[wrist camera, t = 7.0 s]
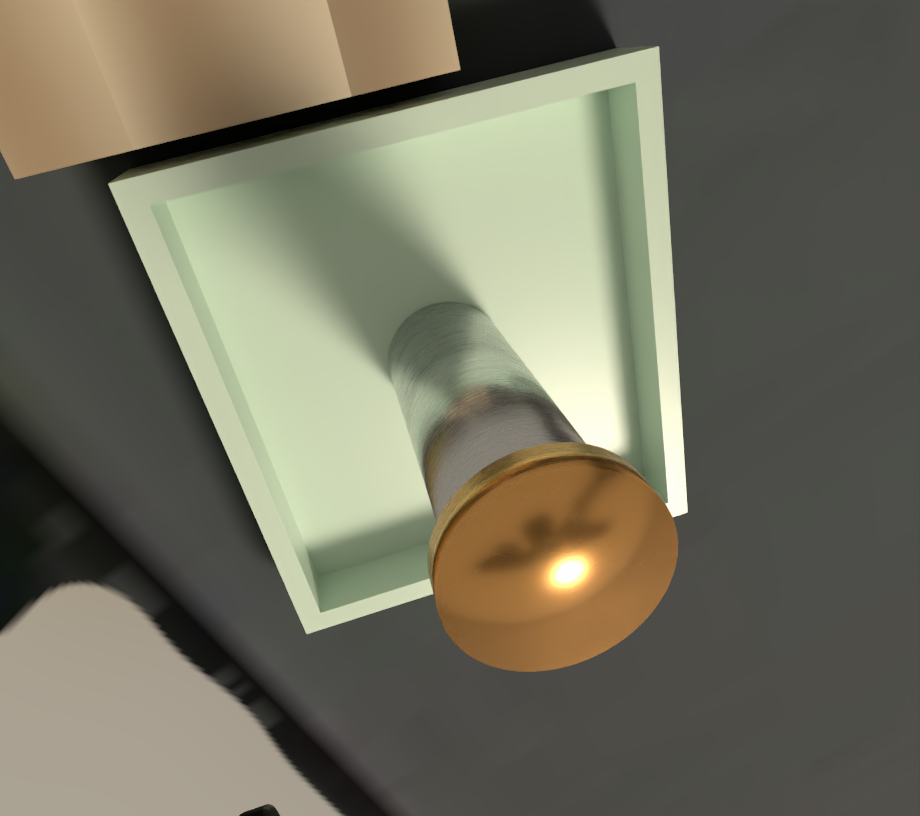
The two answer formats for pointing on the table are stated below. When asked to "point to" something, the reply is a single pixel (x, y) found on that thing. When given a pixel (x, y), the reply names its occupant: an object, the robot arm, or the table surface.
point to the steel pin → (522, 503)
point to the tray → (417, 297)
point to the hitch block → (194, 67)
